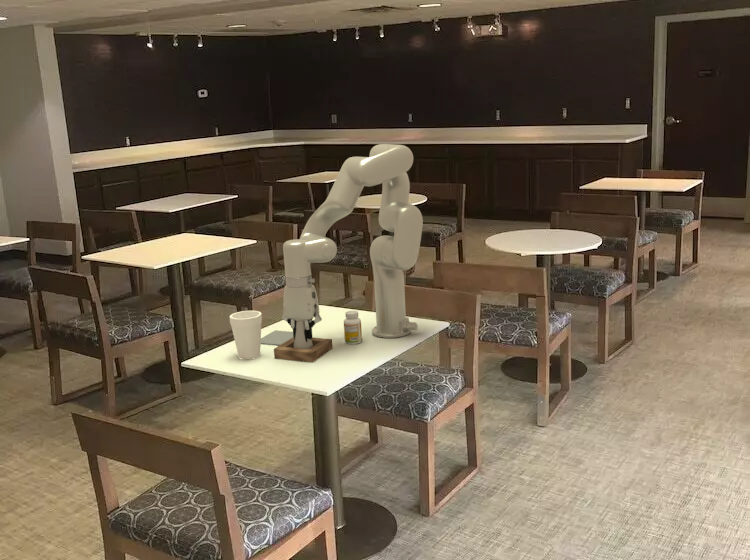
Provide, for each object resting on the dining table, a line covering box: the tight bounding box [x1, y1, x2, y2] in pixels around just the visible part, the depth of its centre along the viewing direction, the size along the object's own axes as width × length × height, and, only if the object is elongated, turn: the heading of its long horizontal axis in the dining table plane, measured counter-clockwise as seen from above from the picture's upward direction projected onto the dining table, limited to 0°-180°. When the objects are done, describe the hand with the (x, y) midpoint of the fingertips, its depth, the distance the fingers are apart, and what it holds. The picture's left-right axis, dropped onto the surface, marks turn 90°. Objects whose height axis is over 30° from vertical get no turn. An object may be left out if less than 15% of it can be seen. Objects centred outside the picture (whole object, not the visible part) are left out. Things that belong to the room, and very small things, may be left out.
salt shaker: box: [294, 318, 313, 349], centre depth 230 cm, size 6×6×13 cm
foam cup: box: [229, 310, 263, 360], centre depth 230 cm, size 10×9×13 cm
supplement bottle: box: [343, 310, 363, 345], centre depth 239 cm, size 5×5×10 cm
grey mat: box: [261, 329, 293, 347], centre depth 247 cm, size 13×13×1 cm
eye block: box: [273, 336, 334, 363], centre depth 231 cm, size 13×13×3 cm
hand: (303, 340), depth 230 cm, fingers closed on salt shaker, 3 cm apart
